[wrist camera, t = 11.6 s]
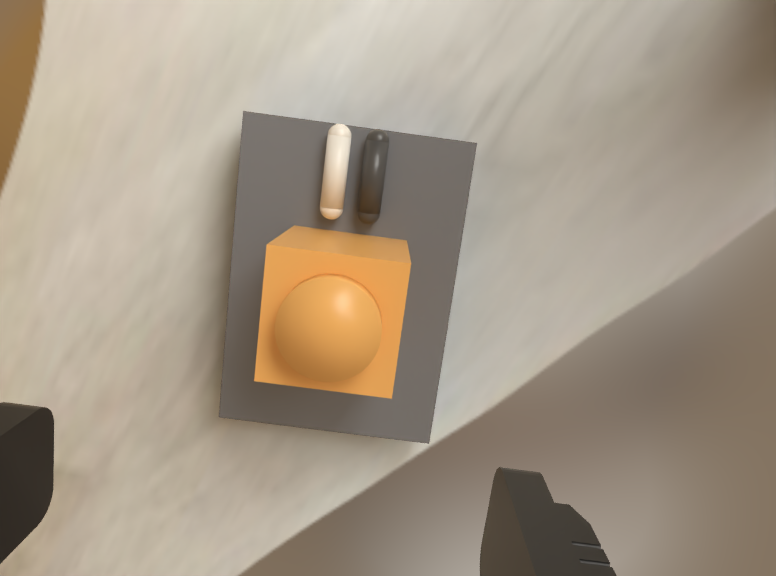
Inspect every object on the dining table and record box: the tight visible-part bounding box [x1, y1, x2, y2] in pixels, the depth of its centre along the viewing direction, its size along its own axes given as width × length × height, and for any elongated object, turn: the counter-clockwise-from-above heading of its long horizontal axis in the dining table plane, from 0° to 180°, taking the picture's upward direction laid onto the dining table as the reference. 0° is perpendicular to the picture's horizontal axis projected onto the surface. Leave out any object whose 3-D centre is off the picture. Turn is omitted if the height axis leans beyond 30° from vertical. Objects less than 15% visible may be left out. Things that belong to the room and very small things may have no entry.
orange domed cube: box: [254, 225, 411, 399], centre depth 24 cm, size 5×5×7 cm
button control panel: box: [219, 111, 477, 444], centre depth 26 cm, size 14×10×8 cm
